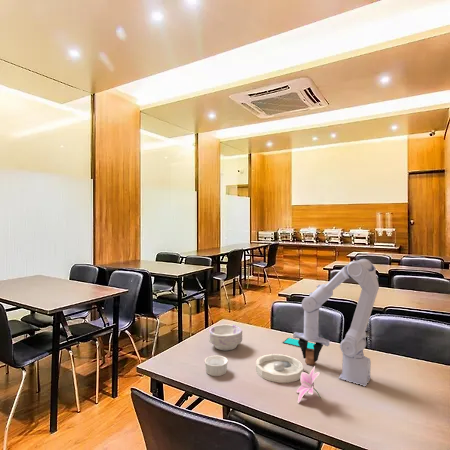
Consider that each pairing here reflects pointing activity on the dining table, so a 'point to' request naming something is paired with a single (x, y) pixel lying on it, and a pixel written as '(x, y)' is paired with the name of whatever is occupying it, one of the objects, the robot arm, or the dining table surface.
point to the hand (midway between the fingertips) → (310, 359)
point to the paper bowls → (225, 336)
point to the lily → (307, 383)
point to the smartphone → (295, 343)
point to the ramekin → (216, 365)
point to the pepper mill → (309, 357)
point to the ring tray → (275, 375)
